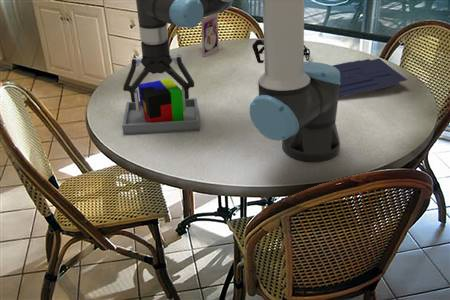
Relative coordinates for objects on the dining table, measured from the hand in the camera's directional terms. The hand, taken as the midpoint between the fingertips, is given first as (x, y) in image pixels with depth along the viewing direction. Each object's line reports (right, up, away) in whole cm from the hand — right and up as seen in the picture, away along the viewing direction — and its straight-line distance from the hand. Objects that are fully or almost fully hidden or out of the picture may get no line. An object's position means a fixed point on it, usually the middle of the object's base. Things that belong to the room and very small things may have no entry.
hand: (161, 110), depth 144 cm
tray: (0, -3, +2) cm, 3 cm away
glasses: (+42, +23, +45) cm, 66 cm away
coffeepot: (+36, +12, +25) cm, 45 cm away
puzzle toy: (0, -2, +2) cm, 3 cm away
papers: (+62, +11, +23) cm, 67 cm away
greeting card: (+11, +28, +53) cm, 60 cm away
